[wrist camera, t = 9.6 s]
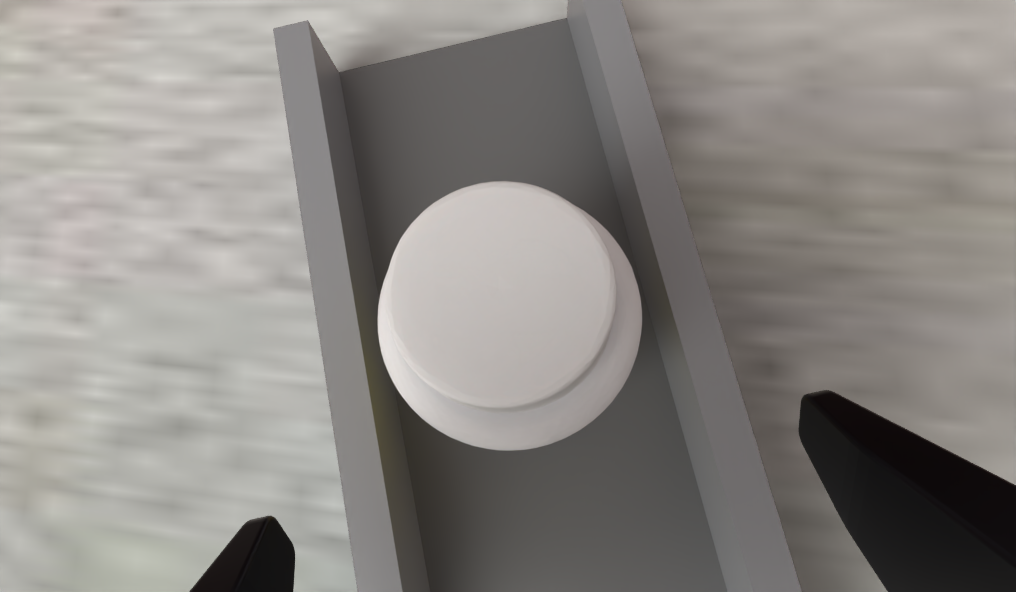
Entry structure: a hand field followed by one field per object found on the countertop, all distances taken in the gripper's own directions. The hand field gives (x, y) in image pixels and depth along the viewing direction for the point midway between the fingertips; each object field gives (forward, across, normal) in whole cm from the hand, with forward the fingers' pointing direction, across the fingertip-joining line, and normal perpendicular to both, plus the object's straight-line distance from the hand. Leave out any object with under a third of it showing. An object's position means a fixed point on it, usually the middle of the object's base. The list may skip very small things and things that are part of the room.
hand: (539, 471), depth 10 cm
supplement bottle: (+9, 0, +5) cm, 10 cm away
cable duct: (+10, 0, +5) cm, 11 cm away
